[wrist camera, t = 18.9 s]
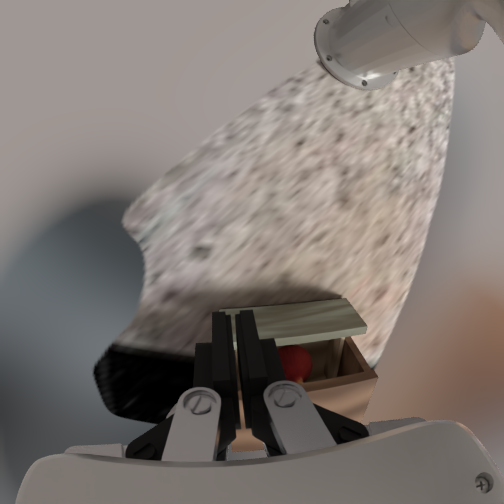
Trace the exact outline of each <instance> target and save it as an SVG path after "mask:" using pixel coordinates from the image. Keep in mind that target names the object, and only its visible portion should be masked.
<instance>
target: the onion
mask: <svg viewBox="0 0 504 504" xmlns="http://www.w3.org/2000/svg"><path fill="white" fill-rule="evenodd" d="M278 353H279V356H280V359H281V363H282V366H283V370H284V373H285V376H286V380H287V381H292V382H295V383H297V384H301V383H304V381H305V380H306V379H307V378H308V377H309V376H310V374H311V371H312V367H313V364H312V358H311V355H310V354H309V352H308V351H307V350H306V349H305V348H303V347H300V346H298V345H285V346H283V347H281V348H279V349H278Z"/></svg>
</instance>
